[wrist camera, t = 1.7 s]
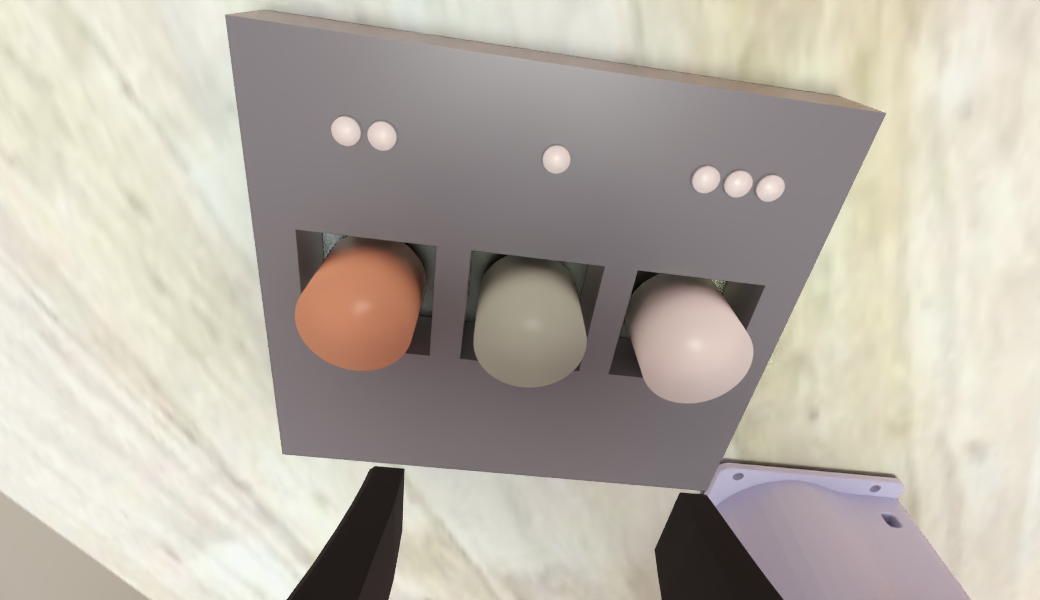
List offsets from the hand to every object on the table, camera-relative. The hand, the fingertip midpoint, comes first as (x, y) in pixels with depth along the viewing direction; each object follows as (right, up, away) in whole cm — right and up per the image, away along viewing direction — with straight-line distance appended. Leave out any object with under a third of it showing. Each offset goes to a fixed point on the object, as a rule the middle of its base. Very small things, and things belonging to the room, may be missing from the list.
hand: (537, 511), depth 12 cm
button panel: (0, +5, +9) cm, 10 cm away
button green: (0, +5, +8) cm, 9 cm away
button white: (+5, +4, +8) cm, 11 cm away
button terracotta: (-5, +5, +7) cm, 11 cm away
